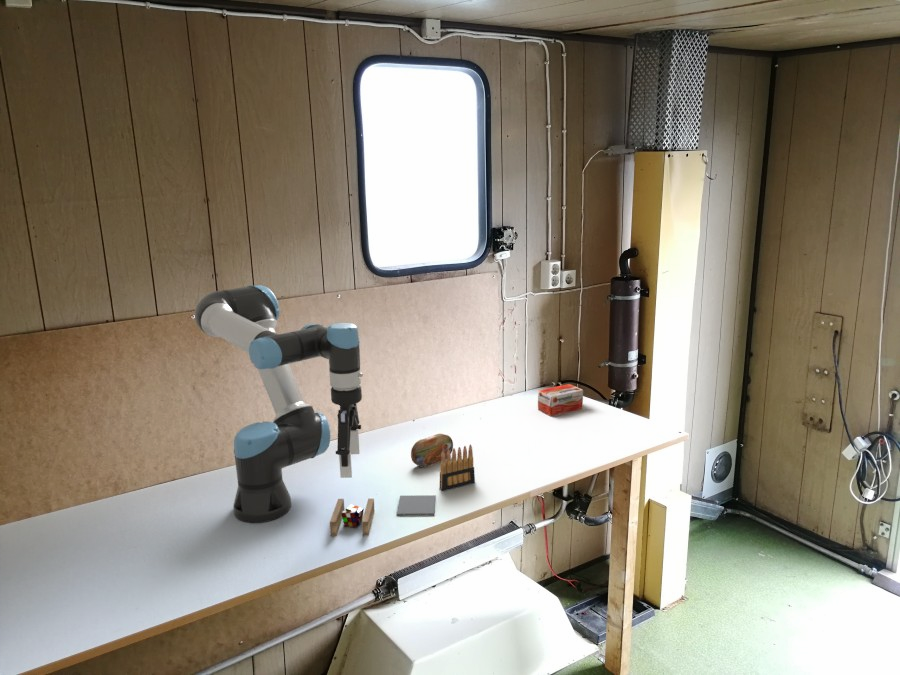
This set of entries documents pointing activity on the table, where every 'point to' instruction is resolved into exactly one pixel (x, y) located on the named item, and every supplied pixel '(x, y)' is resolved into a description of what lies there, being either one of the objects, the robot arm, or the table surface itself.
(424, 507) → the rubber pad
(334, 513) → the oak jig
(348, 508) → the rubik's cube
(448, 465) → the ammunition clip
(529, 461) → the table surface
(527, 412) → the table surface
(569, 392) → the medicine box
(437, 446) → the tin
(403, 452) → the table surface
